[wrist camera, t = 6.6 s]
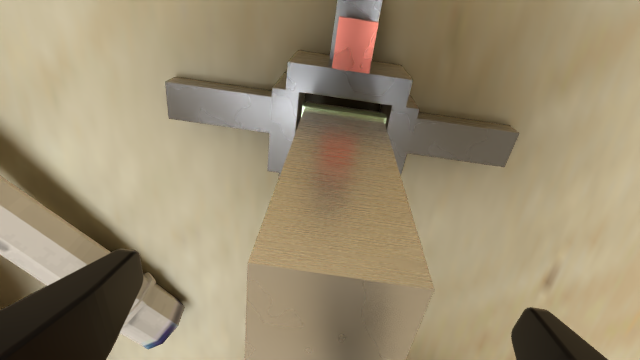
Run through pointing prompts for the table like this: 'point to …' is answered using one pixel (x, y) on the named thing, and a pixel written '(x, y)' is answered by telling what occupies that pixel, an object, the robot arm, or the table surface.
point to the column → (337, 248)
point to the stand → (343, 82)
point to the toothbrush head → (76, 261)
